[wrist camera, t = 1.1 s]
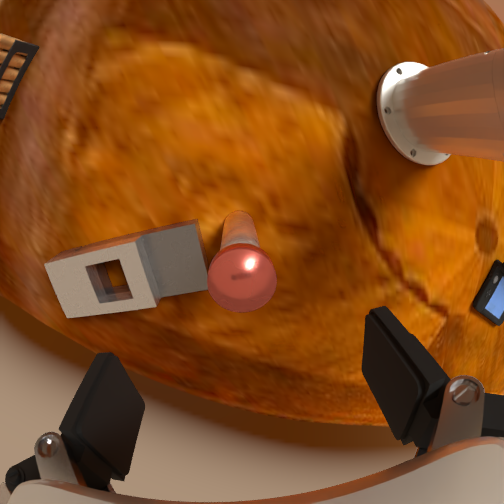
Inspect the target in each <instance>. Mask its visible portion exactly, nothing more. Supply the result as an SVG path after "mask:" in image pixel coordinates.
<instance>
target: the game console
mask: <svg viewBox="0 0 504 504" xmlns="http://www.w3.org/2000/svg"><path fill="white" fill-rule="evenodd" d="M494 263H495V264H494V266H493V268H492V270H491V271H490V273H489V275H488V277H487V279H486V281H485V283H484V284H483V286H482V288H481V290H480V292H479V293H478V295H477V297H476V298H475V300H474V304H473V306H474V308H475V309H476V310H477V311H478V312H480V313H481V314H483V315H484V316H485V317H487V318H488V319H490V320H491V321H492V322H494V323H495V324H496V325H498V326H500V325H501V324H502V323H503V321H504V263H502V262H500V261H499V260H496V261H495V262H494Z"/></svg>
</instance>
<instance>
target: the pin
mask: <svg viewBox="0 0 504 504" xmlns="http://www.w3.org/2000/svg"><path fill="white" fill-rule="evenodd" d="M276 284H277V277H276V272H275V269H274V266H273V263H272V261H271V259H270V257H269V256H268V255H267V254H266V253H265V252H264V251H263V250H262V249H261V248H260V246H259V242H258V238H257V234H256V230H255V226H254V223H253V219H252V218H251V216H250V215H249V214H248V213H246V212H243V211H235V212H232V213H230V214H229V215H228V216H227V217H226V219H225V222H224V228H223V235H222V241H221V248H220V251H219V252H218V253H217V254H216V255H215V256H214V258H213V259H212V261H211V264H210V267H209V272H208V276H207V286H208V290H209V293H210V295H211V297H212V298H213V299H214V301H215V302H216V303H217V304H219V305H220V306H221V307H223V308H225V309H227V310H230V311H234V312H250V311H253V310H256V309H258V308H260V307H262V306H263V305H265V304H266V303H267V302H268V301H269V300H270V299H271V297H272V296H273V294H274V292H275V289H276Z"/></svg>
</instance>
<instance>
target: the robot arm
mask: <svg viewBox="0 0 504 504" xmlns="http://www.w3.org/2000/svg"><path fill="white" fill-rule="evenodd" d="M377 109H378V115H379V119H380V122H381V125H382V127H383V130H384V132H385V134H386V136H387V137H388V139H389V141H390V142H391V144H392V145H393V146H394V147H395V148H396V150H397V151H398V152H399V153H400V154H402V155H403V156H404V157H405V158H407V159H409V160H410V161H412V162H415V163H418V164H423V165H436V164H439V163H442V162H443V161H445V160H446V159H447V158H448V157H449V156H450V155H451V154H455V155H463V156H471V157H478V158H485V159H491V160H497V161H503V162H504V48H502V49H499V50H493V51H488V52H484V53H479V54H475V55H471V56H467V57H464V58H460V59H456V60H453V61H449V62H446V63H443V64H439V65H436V66H433V67H430V68H428V67H426V66H424V65H422V64H419V63H416V62H403V63H399V64H397V65H395V66H393V67H391V68H390V69H389V70H387V71H386V73H385V74H384V75H383V76H382V78H381V81H380V83H379V86H378V91H377ZM384 110H385V111H384ZM362 373H363V375H364V377H365V379H366V381H367V383H368V385H369V387H370V389H371V391H372V393H373V395H374V397H375V399H376V401H377V403H378V404H379V406H380V408H381V410H382V412H383V414H384V416H385V418H386V420H387V422H388V424H389V426H390V428H391V430H392V432H393V435H394V437H395V438H396V439H397V440H400V439H401V441H402V443H403V445H406V444H408V443H410V442H412V441H413V442H414V443H415V445H416V447H417V450H416V453H415V456H414V458H413V459H411V460H408V461H406V462H404V463H401V464H399V465H396V466H394V467H391V468H389V469H386V470H383V471H381V472H378V473H375V474H372V475H369V476H366V477H363V478H360V479H357V480H354V481H350V482H347V483H343V484H340V485H336V486H332V487H328V488H325V489H320V490H316V491H311V492H307V493H301V494H296V495H290V496H284V497H277V498H270V499H262V500H252V501H238V502H209V503H208V502H179V501H165V500H155V499H147V498H139V497H132V496H127V495H121V494H116V492H115V491H114V489H113V487H112V485H111V484H110V479H111V478H112V479H114V480H120V481H124V479H125V475H127V474H128V473H129V470H130V465H131V461H132V457H133V452H134V449H135V444H136V440H137V436H138V432H139V429H140V425H141V421H142V417H143V414H144V410H145V403H144V401H143V399H142V397H141V396H140V394H139V393H138V391H137V390H136V388H135V386H134V385H133V383H132V381H131V380H130V378H129V376H128V375H127V373H126V371H125V369H124V367H123V366H122V364H121V362H120V360H119V358H118V357H117V356H114V354H113V353H110V352H109V353H98V354H97V355H96V357H95V359H94V361H93V362H92V364H91V366H90V368H89V370H88V371H87V373H86V375H85V377H84V379H83V381H82V383H81V384H80V386H79V388H78V390H77V392H76V394H75V396H74V398H73V400H72V402H71V404H70V406H69V408H68V410H67V412H66V414H65V416H64V418H63V421H62V423H61V425H60V427H59V430H60V431H61V432H62V434H61V436H60V435H59V434H58V433H55V432H48V433H45V434H43V435H42V436H41V437H40V438H39V439H38V440H37V442H36V443H35V447H34V451H35V455H34V456H32V457H30V458H28V459H26V460H24V461H22V462H20V463H18V464H16V465H14V466H12V467H11V468H10V469H9V470H8V471H7V474H6V478H5V482H6V484H5V483H4V482H3V483H2V484H1V485H0V504H504V395H496V394H490V393H484V388H483V386H482V384H481V382H480V381H479V380H478V379H476V378H474V377H472V376H467V375H461V376H457V377H455V378H453V379H452V380H450V378H449V377H448V376H447V374H446V373H445V372H444V371H443V369H442V368H441V367H440V366H439V364H438V363H437V362H436V361H435V360H434V358H433V357H432V356H431V355H430V353H429V352H428V351H427V350H426V349H425V347H424V346H423V345H422V344H421V343H420V342H419V340H418V339H417V338H416V337H415V336H414V335H413V334H410V333H409V332H408V331H407V330H406V328H405V327H404V326H403V325H402V324H401V323H400V321H399V320H398V319H397V318H396V317H395V316H394V315H393V313H392V312H391V311H390V310H389V309H388V308H387V307H386V306H382V307H378V308H375V309H371V310H370V312H369V314H368V315H366V317H365V333H364V347H363V359H362Z"/></svg>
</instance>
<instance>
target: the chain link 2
mask: <svg viewBox="0 0 504 504" xmlns="http://www.w3.org/2000/svg"><path fill="white" fill-rule="evenodd" d="M137 236H142V239H143V243H144V246H145V249H146V253H147V256H148V259H149V262H150V266H151V269H152V272H153V275H154V278H155V281H156V284H157V287H158V290H159V293H160V295H161V297H166V296H172V295H178V294H184V293H190V292H196V291H202V290H208V286H207V276H208V272H209V264H208V260H207V256H206V252H205V248H204V244H203V240H202V236H201V232H200V228H199V223H198V219H195V220H190V221H185V222H181V223H176V224H172V225H167V226H163V227H158V228H154V229H149V230H145V231H141V232H137V233H132V234H128V235H124V236H120V237H116V238H112V239H108V240H104V241H100V242H96V243H92V244H89V245H85V246H84V247H82V248H81V249H79V250H78V251H80V250H84V249H88V248H92V247H96V246H100V245H104V244H108V243H112V242H116V241H120V240H124V239H128V238H132V237H137ZM95 267H96V269H97V272H98V275H99V277H100V280H101V283H102V285H103V288H104V290H105V293H106V295H110V294H116V293H122V292H128V291H130V288H129V285H122V286H117V287H112V284H111V281H110V279H109V276H108V273H107V271H106V268H105V265H104V262H102V263H97V264H95Z"/></svg>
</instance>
